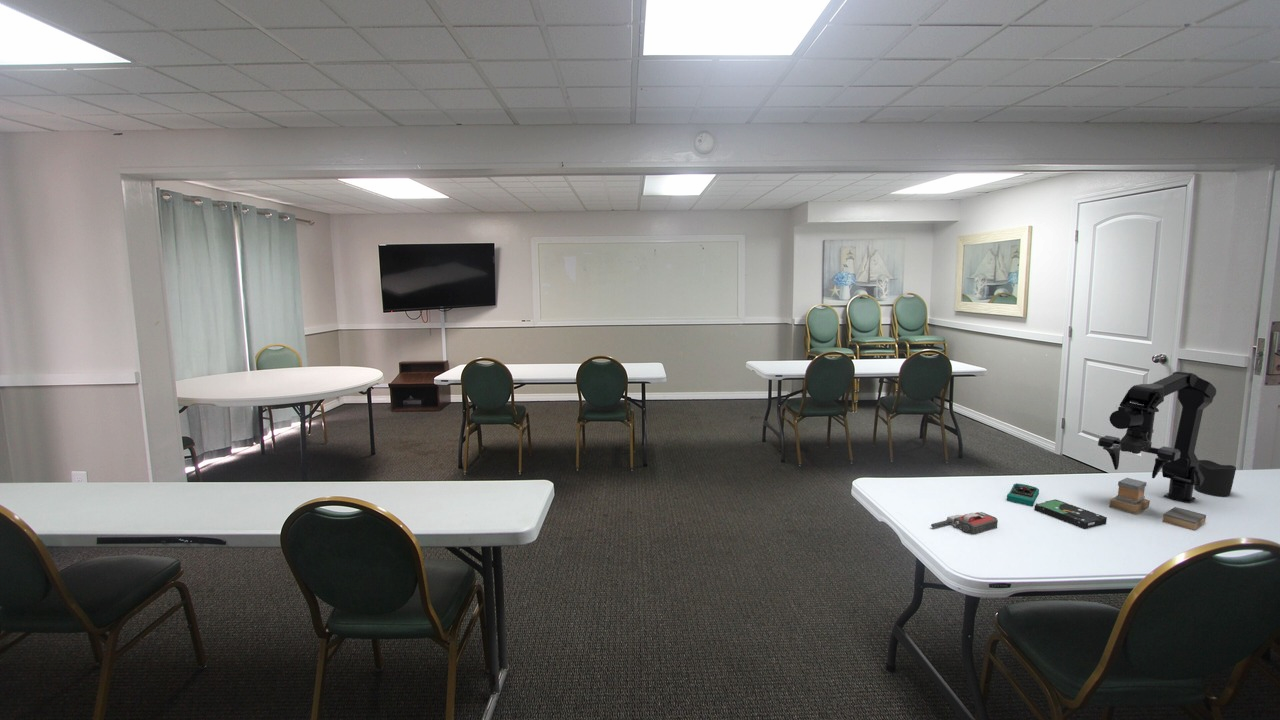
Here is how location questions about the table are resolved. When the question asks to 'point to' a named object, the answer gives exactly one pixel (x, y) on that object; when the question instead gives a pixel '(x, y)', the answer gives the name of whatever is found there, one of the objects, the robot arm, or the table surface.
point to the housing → (1131, 491)
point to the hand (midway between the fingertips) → (1134, 473)
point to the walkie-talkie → (971, 522)
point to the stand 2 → (1184, 518)
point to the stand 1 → (1129, 506)
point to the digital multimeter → (1023, 494)
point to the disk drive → (1070, 514)
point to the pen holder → (1216, 478)
